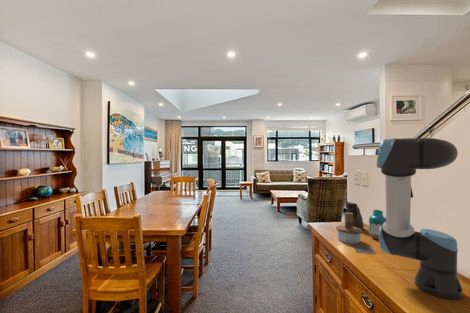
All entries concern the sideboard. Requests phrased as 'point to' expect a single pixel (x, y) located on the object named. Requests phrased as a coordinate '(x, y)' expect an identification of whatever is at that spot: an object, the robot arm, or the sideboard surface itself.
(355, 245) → the mat
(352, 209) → the owl
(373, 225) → the vase
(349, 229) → the lid
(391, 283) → the sideboard surface
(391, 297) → the sideboard surface
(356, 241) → the bowl
